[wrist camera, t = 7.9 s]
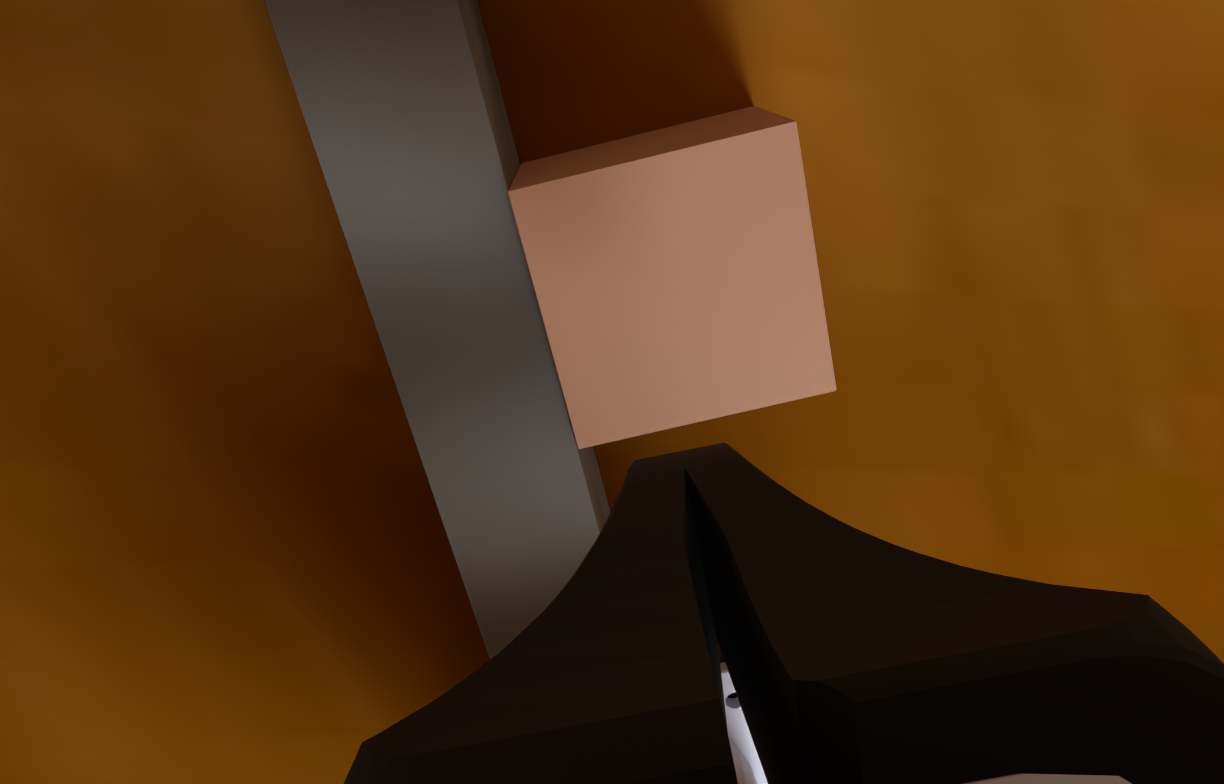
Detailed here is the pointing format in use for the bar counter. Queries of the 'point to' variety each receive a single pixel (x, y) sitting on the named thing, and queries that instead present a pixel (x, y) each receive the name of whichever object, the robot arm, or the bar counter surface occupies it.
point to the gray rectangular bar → (449, 285)
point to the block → (676, 274)
